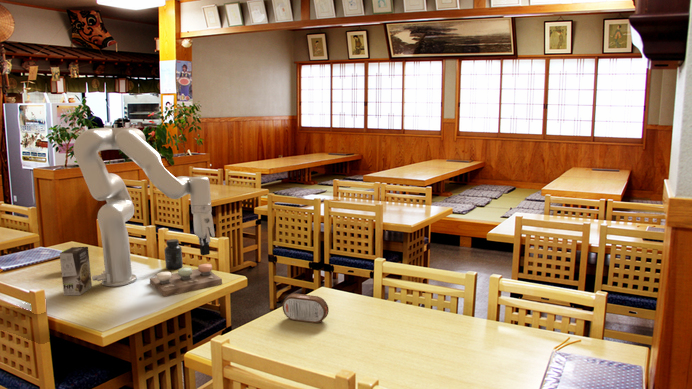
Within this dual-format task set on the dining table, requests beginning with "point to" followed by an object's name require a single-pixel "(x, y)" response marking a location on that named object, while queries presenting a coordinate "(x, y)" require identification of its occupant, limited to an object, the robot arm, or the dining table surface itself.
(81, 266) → the coffee box
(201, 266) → the terracotta button
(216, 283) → the button panel
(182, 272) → the sage button
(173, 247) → the supplement bottle
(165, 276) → the cream button
